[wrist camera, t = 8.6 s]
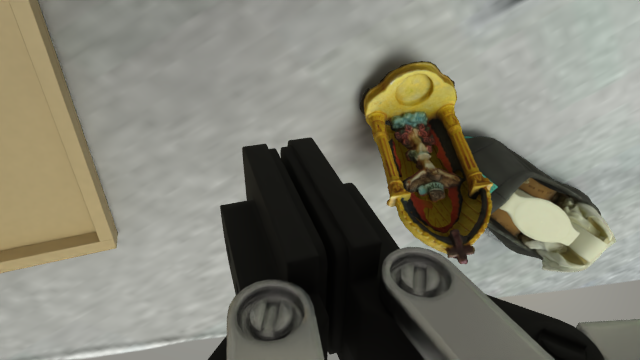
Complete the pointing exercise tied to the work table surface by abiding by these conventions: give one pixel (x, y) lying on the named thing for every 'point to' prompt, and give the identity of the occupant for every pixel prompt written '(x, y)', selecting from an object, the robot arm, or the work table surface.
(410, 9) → the work table surface
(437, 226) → the shrine
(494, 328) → the robot arm
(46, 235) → the boot tray
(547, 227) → the dark grey shoe
